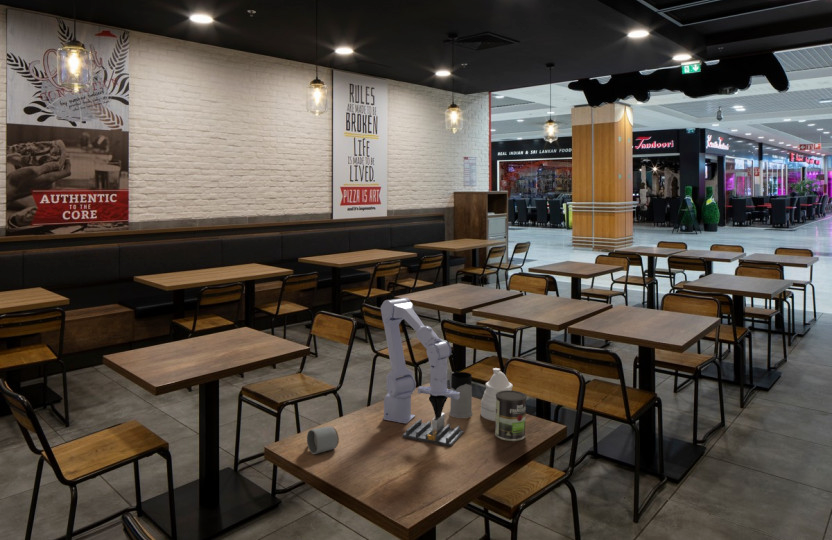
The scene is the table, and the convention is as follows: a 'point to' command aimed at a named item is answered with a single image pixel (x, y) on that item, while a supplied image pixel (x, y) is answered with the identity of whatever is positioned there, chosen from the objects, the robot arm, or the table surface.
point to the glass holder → (461, 394)
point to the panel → (437, 424)
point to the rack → (425, 433)
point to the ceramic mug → (322, 439)
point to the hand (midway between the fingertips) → (438, 416)
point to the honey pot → (493, 393)
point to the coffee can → (510, 415)
